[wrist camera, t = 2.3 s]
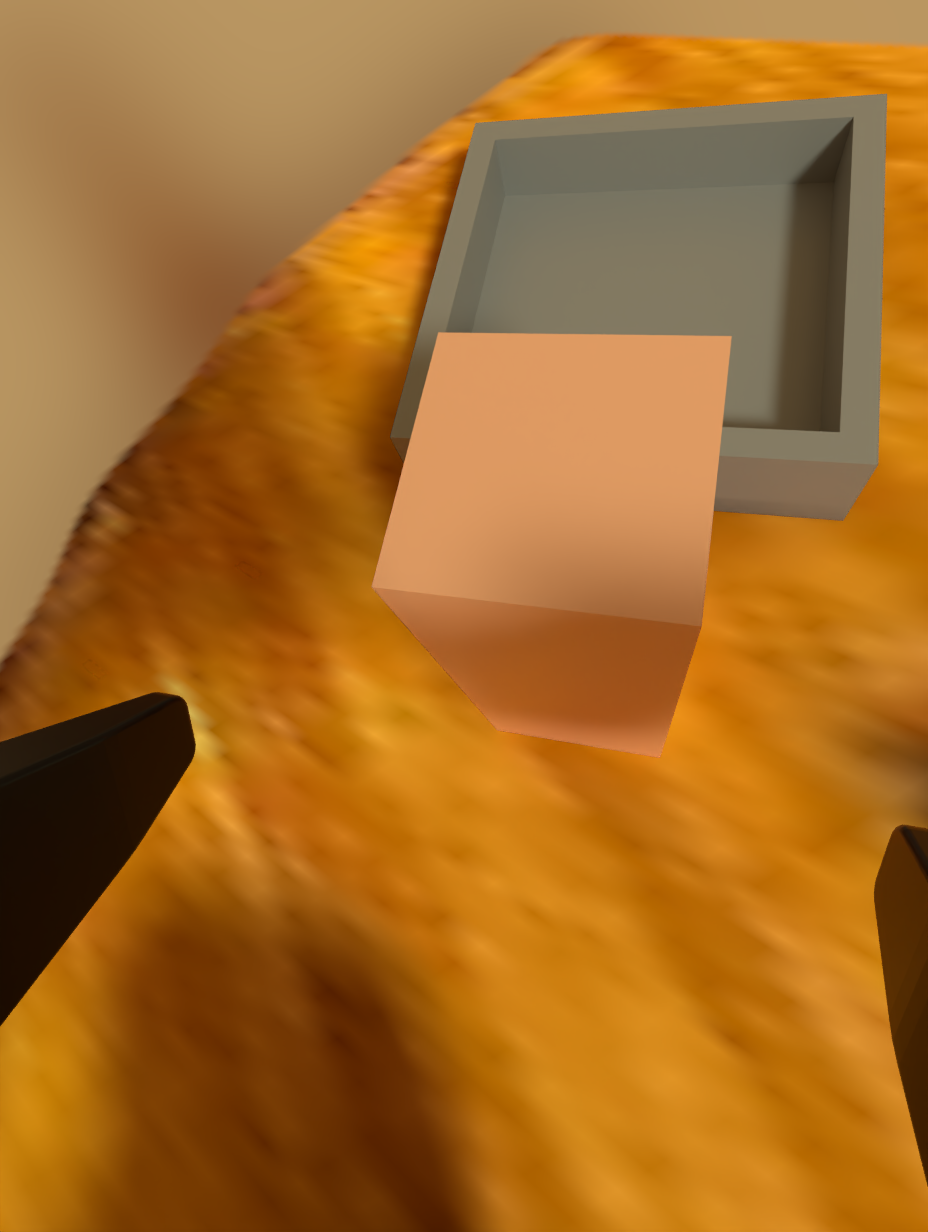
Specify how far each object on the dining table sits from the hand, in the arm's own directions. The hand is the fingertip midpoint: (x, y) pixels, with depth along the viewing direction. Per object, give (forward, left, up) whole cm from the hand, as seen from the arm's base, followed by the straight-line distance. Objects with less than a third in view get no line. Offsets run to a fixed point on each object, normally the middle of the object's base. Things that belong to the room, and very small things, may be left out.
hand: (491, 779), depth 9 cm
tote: (+12, +12, -11) cm, 20 cm away
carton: (+3, +3, -11) cm, 12 cm away
